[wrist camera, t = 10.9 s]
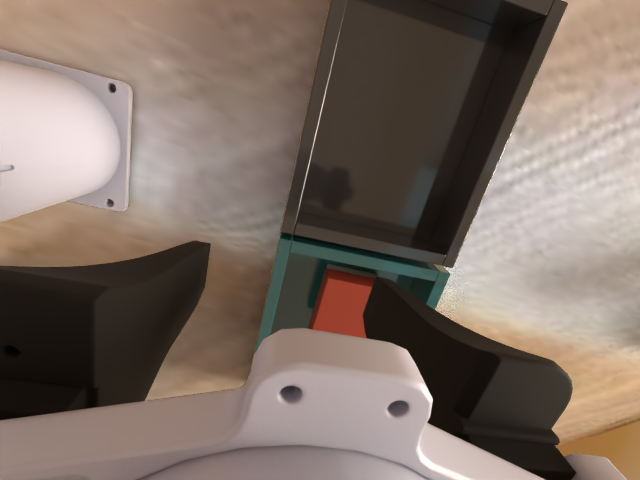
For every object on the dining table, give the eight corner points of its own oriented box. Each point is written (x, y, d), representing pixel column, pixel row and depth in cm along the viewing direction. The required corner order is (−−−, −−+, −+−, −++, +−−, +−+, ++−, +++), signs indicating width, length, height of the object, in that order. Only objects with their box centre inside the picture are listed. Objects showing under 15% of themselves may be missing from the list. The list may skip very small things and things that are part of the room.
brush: (290, 374, 26) (289, 409, 23) (324, 260, 22) (328, 282, 19) (341, 382, 27) (347, 417, 24) (382, 272, 23) (395, 296, 20)
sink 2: (283, 216, 22) (280, 232, 19) (338, -42, 17) (348, -81, 14) (431, 248, 23) (452, 268, 20) (522, 23, 18) (569, 2, 15)
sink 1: (247, 382, 27) (240, 416, 24) (281, 221, 22) (279, 238, 19) (371, 399, 28) (381, 433, 25) (430, 253, 24) (450, 273, 20)
